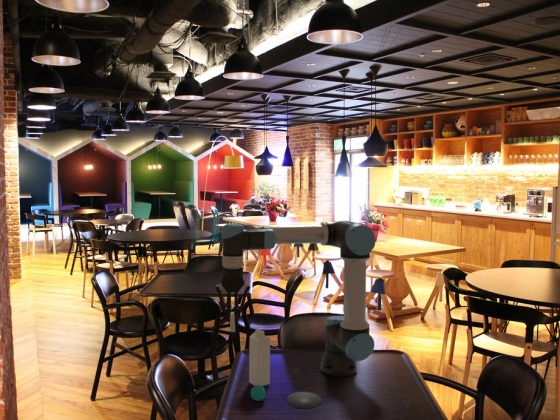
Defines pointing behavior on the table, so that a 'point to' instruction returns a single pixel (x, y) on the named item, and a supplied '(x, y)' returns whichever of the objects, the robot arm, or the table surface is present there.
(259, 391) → the ball
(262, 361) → the milk
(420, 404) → the table surface
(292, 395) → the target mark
